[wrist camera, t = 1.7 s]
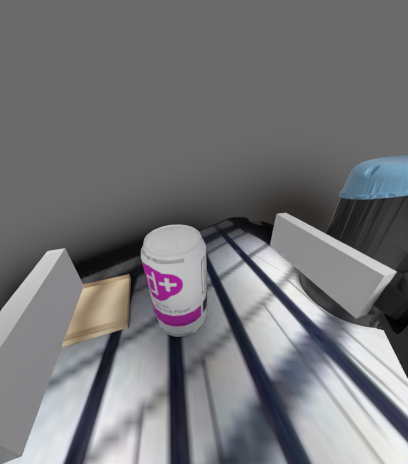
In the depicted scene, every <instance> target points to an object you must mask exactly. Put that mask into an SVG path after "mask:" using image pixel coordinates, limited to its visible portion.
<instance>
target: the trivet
mask: <svg viewBox="0 0 408 464" xmlns="http://www.w3.org/2000/svg"><path fill="white" fill-rule="evenodd" d="M130 282H131V278H130V275H124V276H120V277H115V278H111V279H106V280H102V281H97V282H93V283H88V284H84V285H83V286H84V287H83V290H82V292H81V295H80V298H79V301H78V303H77V306H76V309H75V312H74V314H73V317H72V320H71V322H70V325H69V328H68V331H67V333H66V336H65V339H64V342H63V344H62V347H65V346H68V345H71V344H75V343H78V342H81V341H85V340H88V339H92V338H95V337H98V336H102V335H105V334H108V333H112V332H115V331H118V330H122V329H125V328H128V324H129V303H130Z"/></svg>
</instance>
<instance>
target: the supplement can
mask: <svg viewBox="0 0 408 464" xmlns="http://www.w3.org/2000/svg"><path fill="white" fill-rule="evenodd" d="M141 259H142V263H143V267H144V271H145V275H146V279H147V283H148V287H149V291H150V295H151V299H152V303H153V308H154V312H155V316H156V320H157V323H158V325H159V327H160V329H161V330H163V331H164V332H165V333H166V334H168V335H172V336H176V337H180V336H187V335H189V334H191V333H194V332H196V331H197V330H198V329H199V328H200V327H201V326H202V325H203V323H204V321H205V319H206V316H207V275H206V244H205V242H204V241H203V239H202V237H201V235H200V233H199V231H198V230H196V229H195V228H193V227H190V226H187V225H169V226H164V227H160V228H158V229H156V230H153V231H152V232H151V233H149V234H148V235H147V236H146V237H145V239H144V244H143V247H142V249H141Z"/></svg>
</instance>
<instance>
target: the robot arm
mask: <svg viewBox="0 0 408 464" xmlns="http://www.w3.org/2000/svg"><path fill="white" fill-rule="evenodd" d="M339 196H340V197H341V198H340V200H339V203H338V205H337V208H336V210H335V213H334V215H333V218H332V220H331V223H330V225H329V228H328V230H327V233H326V234H325V233H323V232H321V231H319V230H317V229H315V228H314V227H312V226H310V225H308V224H306V223H304V222H302V221H300V220H298V219H296V218H295V217H293V216H291V215H289V214H287V213H280V214H277V215H276V220H275V224H274V229H273V234H272V239H271V243H270V246H271V247H272V248H273V249H274V250H275V251H277V252H278V253H279V254H280V255H281V256H283V257H284V258H285V259H286V260H287V261H288V262H290V263H291V264H292V265H293V266H294V267H296V268H297V269H298V270H299V271H300V272H301V273H300V281H301V284H302V286H303V288H304V290H305V291H306V293H307V294H308V295H309V296H310V297H311V298H312V299H313V300H314V301H315V302H316V303H317V304H318V305H320V306H321V307H322V308H324V309H325V310H327V311H328V312H330V313H332V314H334V315H335V316H337V317H339V318H341V319H344V320H346V321H349V322H351V323H354V324H358V325H361V326H366V327H372V328H377V329H381V330H384V332H385V334H386V336H387V338H388V340H389V342H390V344H391V346H392V348H393V350H394V352H395V354H396V356H397V358H398V360H399V362H400V364H401V366H402V368H403V370H404V372H405V374H406V376H407V378H408V155H407V156H406V155H405V156H393V157H384V158H377V159H372V160H368V161H365V162H362V163H360V164H359V165H357V166H356V167H355V168H354V169H353V170H352V171H351V173H350V175H349V177H348V179H347V181H346V184H345V186H344V188H343V190H341V192H340V195H339ZM83 287H84V286H83V284H82V282H81V280H80V278H79V276H78V274H77V272H76V270H75V268H74V266H73V263H72V262H71V259H70V257H69V255H68V253H67V252H66V249H65V248H64V249H58V250H52V251H47V253H46V254H45V255H44V256H43V258H42V259H41V260H40V261H39V263H38V264H37V265H36V267H35V268H34V269H33V270H32V272H31V273H30V274H29V276H28V277H27V278H26V279H25V281H24V282H23V283H22V284H21V286H20V287H19V288H18V289H17V291H16V292H15V293H14V295H13V296H12V297H11V298H10V300H9V301H8V302H7V303H6V305H5V306H4V307H3V309H2V310H1V311H0V464H3V463H6V462H8V461H11V460H13V459H15V458H18V457H20V456H22V454H23V451H24V448H25V446H26V443H27V440H28V437H29V435H30V432H31V429H32V426H33V424H34V421H35V418H36V416H37V413H38V410H39V407H40V405H41V402H42V399H43V396H44V394H45V391H46V388H47V385H48V383H49V380H50V377H51V374H52V372H53V369H54V366H55V364H56V361H57V358H58V355H59V353H60V350H61V347H62V344H63V342H64V339H65V336H66V333H67V331H68V328H69V325H70V322H71V320H72V317H73V314H74V312H75V309H76V306H77V303H78V301H79V298H80V295H81V292H82V290H83Z"/></svg>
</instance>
